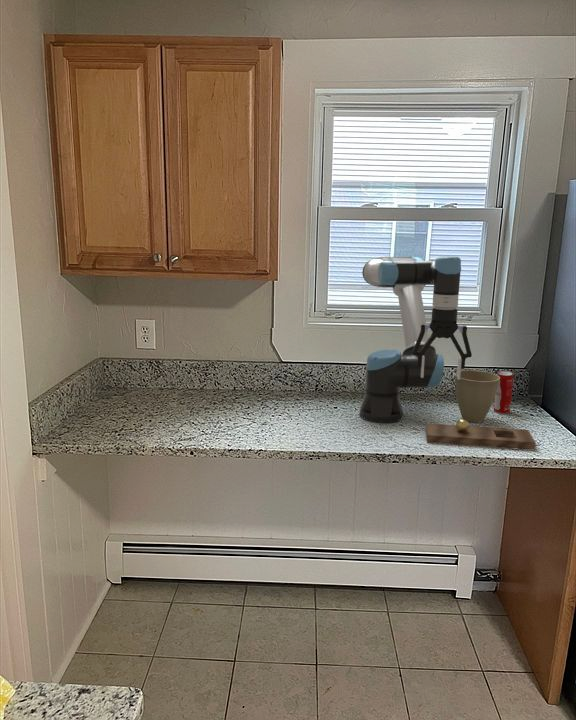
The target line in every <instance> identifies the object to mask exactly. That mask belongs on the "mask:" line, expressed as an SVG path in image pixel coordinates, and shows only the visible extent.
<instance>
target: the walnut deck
mask: <svg viewBox="0 0 576 720" xmlns="http://www.w3.org/2000/svg"><path fill="white" fill-rule="evenodd" d="M425 437H426V443H427V444H428V443H430V444H441V445H442V444H443V445H444V444H445V445H458V446H469V447H470V446H471V447H472V446H473V447H485V448H496V449H497V448H498V449H499V448H500V449H511V448H518V449H517V450H524V449H536V441H535V439H534V438H533V436H532V434H531V432H530V431H529V430H528V429H519V428H503V427H491V426H478V425H477V426H474V425H469V428H468V430H467V431H464V432H461V431H459V430H458V429H457V428H456V424H446V423H431V422H427V423H425Z"/></svg>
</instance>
